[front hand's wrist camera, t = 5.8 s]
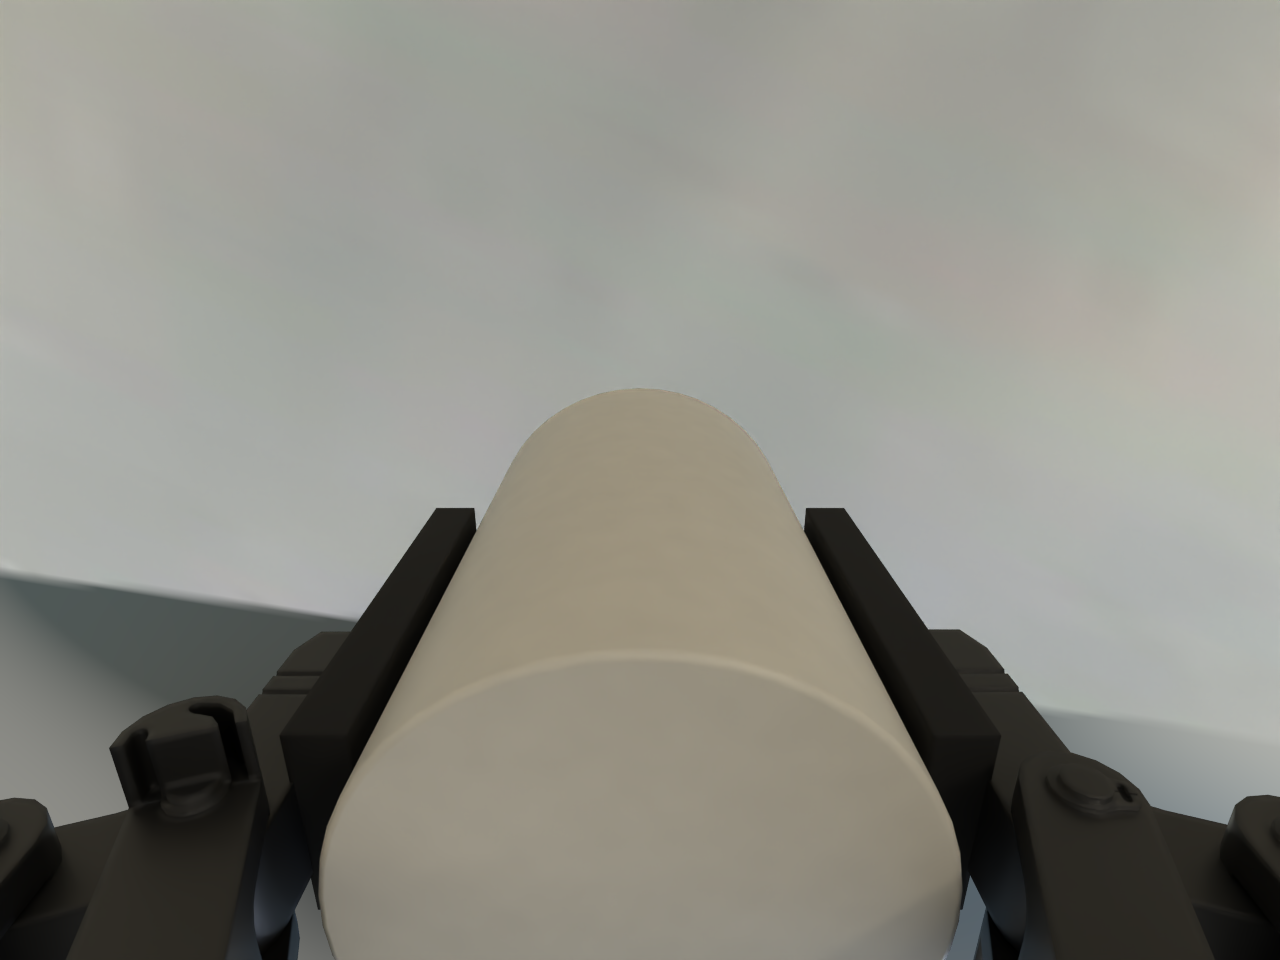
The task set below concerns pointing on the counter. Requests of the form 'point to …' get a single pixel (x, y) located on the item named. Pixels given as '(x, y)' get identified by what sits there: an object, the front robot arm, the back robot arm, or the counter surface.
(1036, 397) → the counter surface
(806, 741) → the cylinder
